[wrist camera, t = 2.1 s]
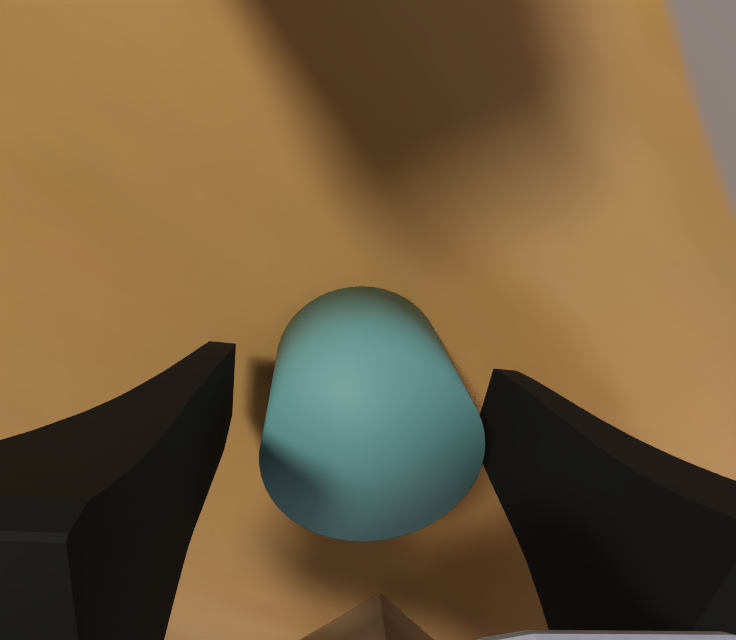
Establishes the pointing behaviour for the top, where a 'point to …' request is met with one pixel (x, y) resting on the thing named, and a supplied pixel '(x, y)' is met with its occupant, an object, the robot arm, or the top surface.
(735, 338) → the top surface
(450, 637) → the top surface
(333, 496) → the teal rounded piece
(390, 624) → the base block
